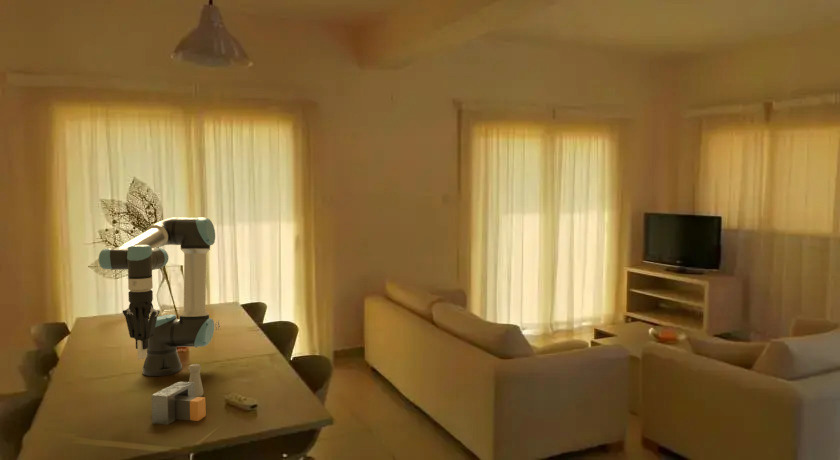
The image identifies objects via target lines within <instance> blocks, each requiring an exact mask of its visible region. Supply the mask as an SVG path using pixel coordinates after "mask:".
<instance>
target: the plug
mask: <svg viewBox="0 0 840 460" xmlns="http://www.w3.org/2000/svg"><path fill="white" fill-rule="evenodd" d="M206 404H207V403H206V397H204V396H202V397H194V396H181V395H175V420H185V421H195V422H198V421H200V420H202V419H203V418H205V417H206V416H207V414H206V413H207V410H206V409H207V407H206V406H207V405H206Z"/></svg>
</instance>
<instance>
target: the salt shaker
mask: <svg viewBox="0 0 840 460" xmlns="http://www.w3.org/2000/svg"><path fill="white" fill-rule="evenodd" d="M201 369H202V366H201V365H200V364H199V363H193V364H190V365H188V372H189V373H190V374H189V380H188V382H193V383H194V393H195V397H204V388H203V383H202V377H201V373H200V372H201Z"/></svg>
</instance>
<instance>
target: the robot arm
mask: <svg viewBox="0 0 840 460" xmlns="http://www.w3.org/2000/svg"><path fill="white" fill-rule="evenodd" d="M215 240H216V229H215V225H214V223H213V222H212V220H211V219H209V218H208V217H200V216H196V217H195V216H193V217H191V216H190V217H188V216H187V217H184V216H183V217H181V216H180V217H178V216H175V217H174V216H173V217H169V218H164V219H162V220H160V221H157V222H155V223H153V224H150V225H149V226H148V227H147V228H145V230H144V231H143V232H141V233H140V234H138V235H137V236H135V237H133V238H131V239H130V240H128V241H126V242H124V243H123V244H121V245H119V246H117V247H115V248H111V247H109V248H103V249H101V251H100V252H99V255H98V265H99V267H101V269H103V270H111V271H113V270H114V271H116V270H117V271H118V270H119V271H121V270H123V271H125V270H127V279H128V281H127V282H128V287H127V288H128V291H129V292H128V302H129V305H128V308H125V309H123V310H122V314H123V316H124V317H125V321H126V326H127V331H128V334H129V337H130V339H134V340H135V349H136V350H137V360H143V359H144V361H143V362H144V364H143V366H142V375H144V376H147V377H148V376H149V377H163V376H169V375H174V374H176V373H178V372H180V371H181V370H182V368H183V366H182V365H183V364H182V362H181V359H180V355H179V353H178V348H181V347H182V348H186V347H187V348H192V347H193V348H199V347H200V348H201V347H202V348H203V347H207V346H208V345H209V344H210V342H211V341H212V339H213V336H214V332H215V320H214V319H213V318H211V317H210V313H209V312H208V311H207V309H206V299H207V298H206V295H207V290H206V289H207V287H206V285H207V284H206V283H207V253H208V252H209V251H210V250H211V246H213V245H214V244H215V243H216V241H215ZM170 245H171V246H180V250H181V251H182V252H183V254H184V257H183V258H184V259H183V275H184V276H183V310H182V312H181V313H180V314H179V318H177V315H176V314H166V315H160V313H161V311H160V310H158V309H157V310H156V309H155V308H154V305H153V300H154V297H153V296H154V295H153V293H154V292H153V290H152V289H153V271H154V270H160V269H161V268H163V267H165V266H166V265H167V264H168V263H169V254H168V252H167V251H166V250H165V249H164V248H161V247H164V246H170Z"/></svg>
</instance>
